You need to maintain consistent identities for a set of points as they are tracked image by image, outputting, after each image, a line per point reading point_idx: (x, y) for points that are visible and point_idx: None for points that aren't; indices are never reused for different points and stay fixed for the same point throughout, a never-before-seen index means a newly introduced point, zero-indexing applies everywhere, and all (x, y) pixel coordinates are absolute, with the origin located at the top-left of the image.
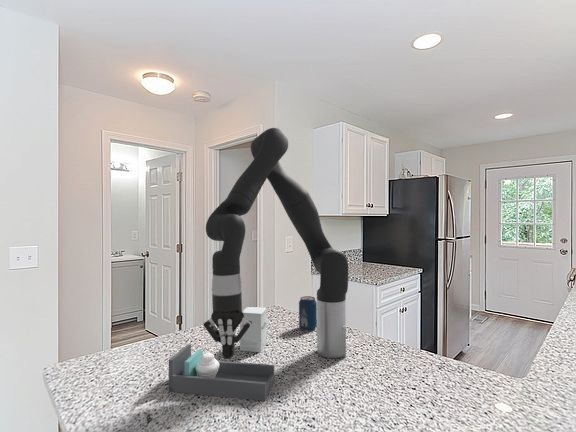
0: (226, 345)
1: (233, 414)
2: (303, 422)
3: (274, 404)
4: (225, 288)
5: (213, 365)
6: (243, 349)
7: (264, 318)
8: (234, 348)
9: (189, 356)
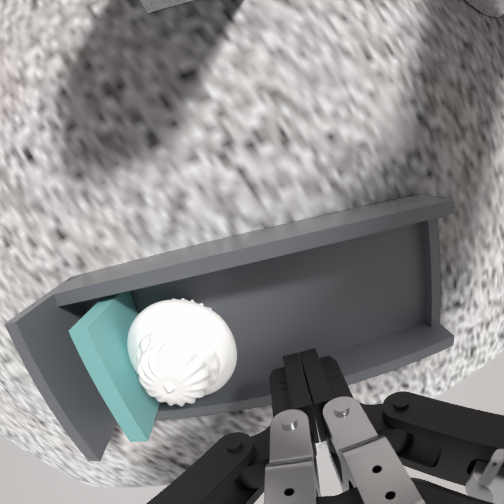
0: (317, 441)
1: (365, 401)
2: (498, 343)
3: (449, 322)
4: None
5: (224, 373)
6: (163, 5)
7: None
8: (343, 377)
9: (51, 316)
